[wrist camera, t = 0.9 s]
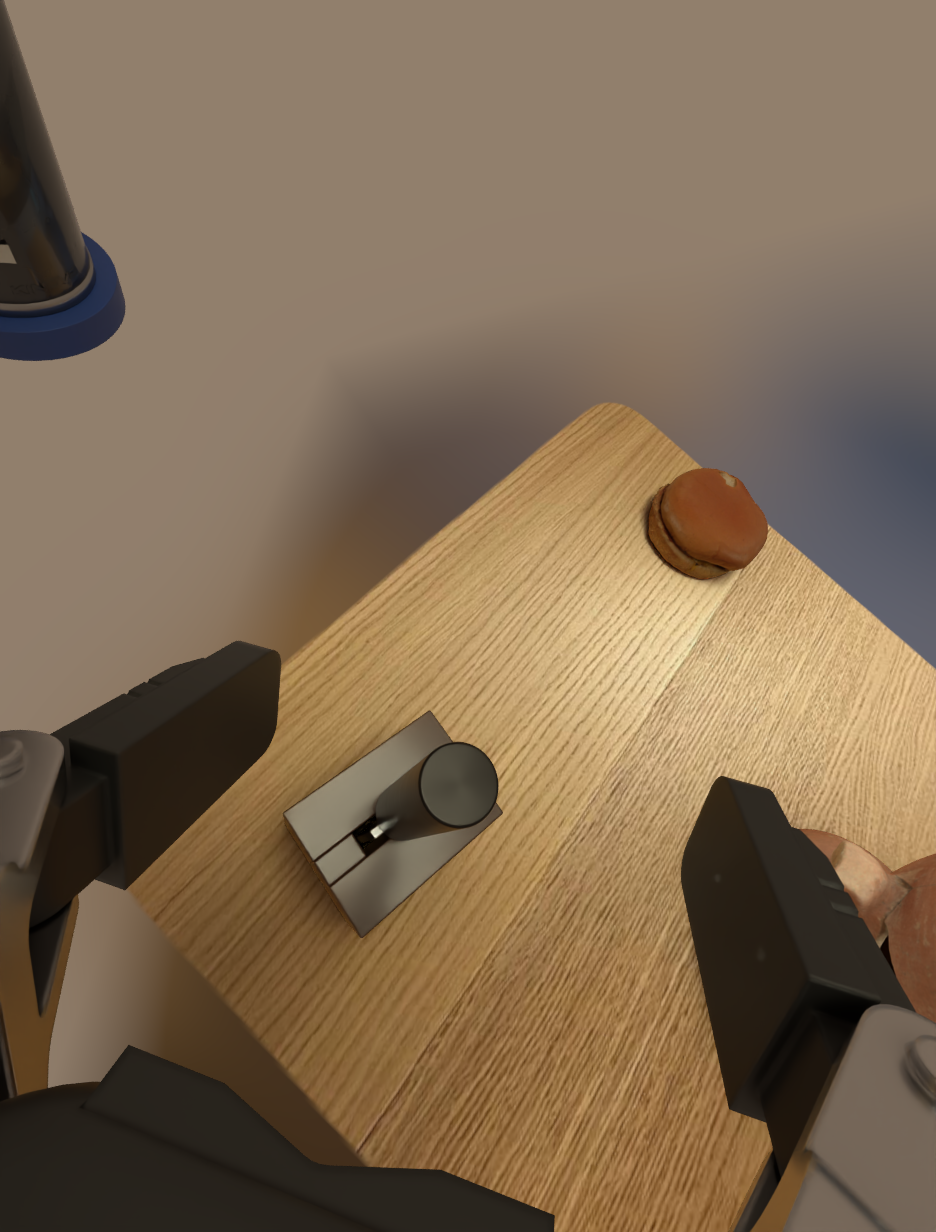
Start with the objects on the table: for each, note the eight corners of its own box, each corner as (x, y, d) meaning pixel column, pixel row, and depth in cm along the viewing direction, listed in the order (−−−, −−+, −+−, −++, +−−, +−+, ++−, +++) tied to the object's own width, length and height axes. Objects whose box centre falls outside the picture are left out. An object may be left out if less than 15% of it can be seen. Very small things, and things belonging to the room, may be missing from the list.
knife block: (284, 824, 29) (282, 813, 23) (404, 738, 32) (430, 709, 26) (346, 922, 28) (361, 939, 22) (463, 822, 31) (504, 812, 25)
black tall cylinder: (341, 823, 29) (389, 782, 15) (388, 788, 31) (476, 718, 16) (365, 861, 29) (441, 857, 14) (412, 823, 31) (524, 784, 16)
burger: (651, 574, 44) (688, 544, 40) (636, 483, 48) (668, 447, 44) (750, 590, 46) (794, 564, 42) (727, 503, 50) (766, 471, 46)
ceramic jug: (638, 956, 31) (866, 1018, 19) (737, 774, 38) (950, 731, 26) (879, 1203, 29) (1304, 1449, 17) (936, 965, 36) (1265, 1016, 24)
